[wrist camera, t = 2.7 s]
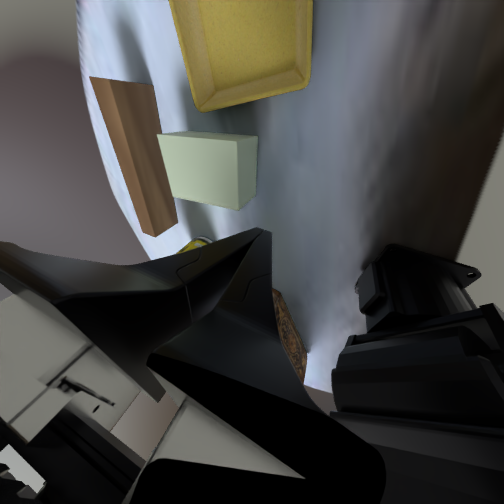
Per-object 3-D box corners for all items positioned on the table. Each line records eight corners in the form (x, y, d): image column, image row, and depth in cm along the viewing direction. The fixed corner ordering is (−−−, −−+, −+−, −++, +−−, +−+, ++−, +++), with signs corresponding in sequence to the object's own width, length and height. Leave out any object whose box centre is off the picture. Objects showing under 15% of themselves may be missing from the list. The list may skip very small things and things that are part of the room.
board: (153, 85, 16) (108, 79, 13) (178, 222, 25) (155, 237, 22) (135, 82, 16) (88, 76, 13) (166, 218, 25) (142, 232, 22)
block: (258, 135, 15) (236, 141, 12) (256, 194, 18) (238, 210, 15) (189, 130, 17) (156, 134, 14) (198, 184, 20) (172, 196, 17)
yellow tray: (210, 114, 16) (195, 114, 14) (171, -67, 11) (142, -96, 9) (315, 90, 12) (310, 87, 11) (327, -192, 7) (322, -272, 6)
